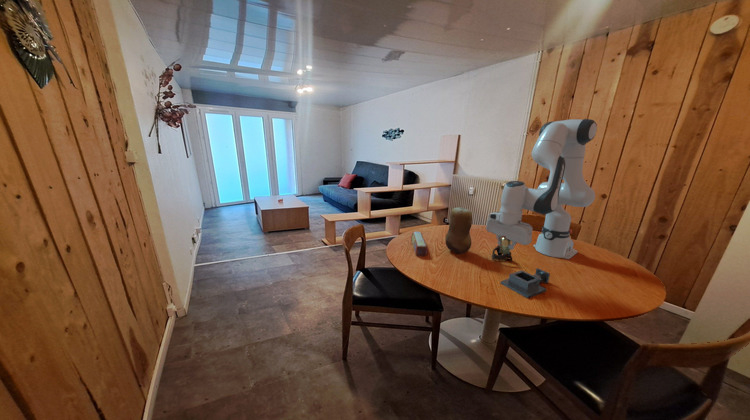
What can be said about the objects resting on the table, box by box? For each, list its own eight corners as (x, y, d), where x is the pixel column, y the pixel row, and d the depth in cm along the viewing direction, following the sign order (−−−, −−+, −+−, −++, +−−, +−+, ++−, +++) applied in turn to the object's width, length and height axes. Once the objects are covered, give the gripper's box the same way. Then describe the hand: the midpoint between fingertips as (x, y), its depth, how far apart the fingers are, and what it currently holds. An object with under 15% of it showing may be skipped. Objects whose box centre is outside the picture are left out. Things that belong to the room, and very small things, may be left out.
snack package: (427, 257, 129) (428, 245, 128) (414, 256, 130) (415, 244, 128) (421, 241, 150) (422, 231, 148) (410, 241, 150) (411, 230, 148)
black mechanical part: (516, 265, 123) (513, 253, 120) (497, 270, 126) (493, 259, 122) (507, 250, 134) (503, 238, 130) (489, 255, 136) (485, 244, 133)
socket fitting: (528, 273, 114) (530, 264, 113) (556, 287, 104) (558, 276, 102) (500, 283, 106) (502, 272, 104) (527, 298, 95) (530, 287, 94)
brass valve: (503, 249, 116) (506, 233, 114) (511, 252, 112) (514, 236, 110) (496, 251, 114) (498, 234, 112) (504, 255, 110) (506, 237, 108)
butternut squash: (472, 250, 138) (478, 207, 131) (466, 259, 127) (473, 213, 120) (447, 245, 145) (452, 204, 138) (440, 253, 134) (445, 209, 127)
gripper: (537, 223, 101) (532, 254, 105) (495, 211, 119) (491, 238, 123) (528, 226, 98) (522, 257, 102) (485, 213, 116) (482, 240, 120)
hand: (505, 246), depth 113 cm, fingers closed on brass valve, 4 cm apart
